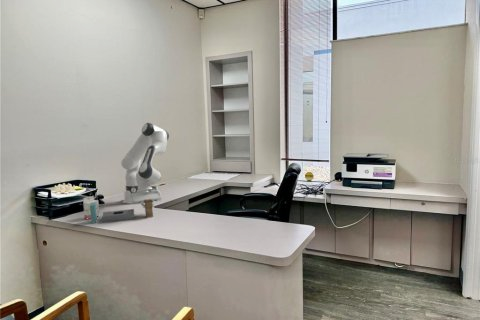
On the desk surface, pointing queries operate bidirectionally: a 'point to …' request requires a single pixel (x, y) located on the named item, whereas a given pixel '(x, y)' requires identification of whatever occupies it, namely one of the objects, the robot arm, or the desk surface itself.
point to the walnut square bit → (148, 208)
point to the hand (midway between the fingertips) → (148, 207)
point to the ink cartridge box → (87, 206)
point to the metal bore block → (118, 215)
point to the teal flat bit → (93, 212)
